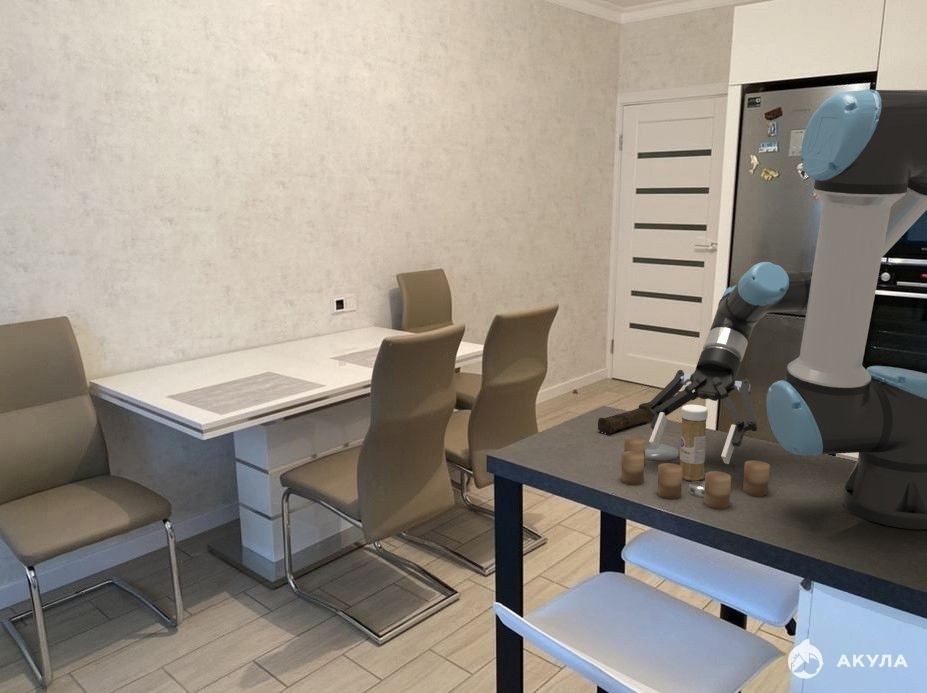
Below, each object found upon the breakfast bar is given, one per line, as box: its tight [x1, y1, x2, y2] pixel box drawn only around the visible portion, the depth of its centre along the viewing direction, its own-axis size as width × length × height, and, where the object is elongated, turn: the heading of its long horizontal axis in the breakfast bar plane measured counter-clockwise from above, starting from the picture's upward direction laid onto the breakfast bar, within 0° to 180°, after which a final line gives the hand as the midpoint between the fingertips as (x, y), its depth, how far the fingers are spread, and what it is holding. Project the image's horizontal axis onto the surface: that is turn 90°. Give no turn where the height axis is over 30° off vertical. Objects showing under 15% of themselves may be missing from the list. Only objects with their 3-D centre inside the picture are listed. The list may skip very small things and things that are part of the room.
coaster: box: [645, 442, 679, 462], centre depth 144 cm, size 9×9×1 cm
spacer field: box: [620, 436, 771, 510], centre depth 129 cm, size 26×18×5 cm
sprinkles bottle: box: [679, 404, 709, 482], centre depth 130 cm, size 5×5×14 cm
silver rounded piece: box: [687, 480, 705, 498], centre depth 124 cm, size 4×4×2 cm
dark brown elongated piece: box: [597, 401, 655, 435], centre depth 162 cm, size 19×4×5 cm, turn 124°
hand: (687, 452), depth 128 cm, fingers open, 13 cm apart
